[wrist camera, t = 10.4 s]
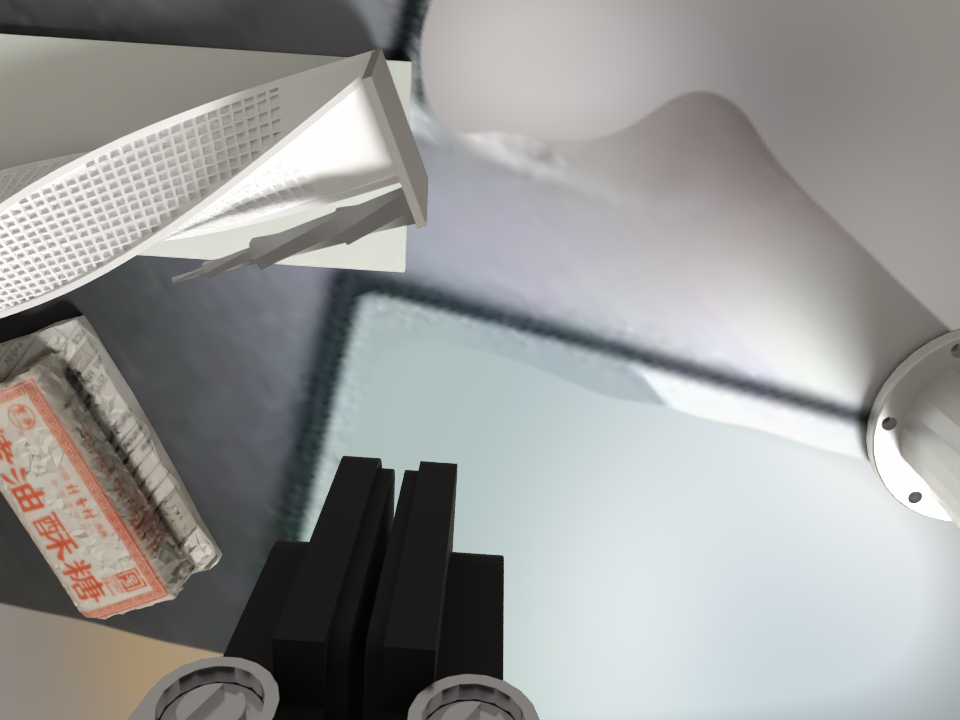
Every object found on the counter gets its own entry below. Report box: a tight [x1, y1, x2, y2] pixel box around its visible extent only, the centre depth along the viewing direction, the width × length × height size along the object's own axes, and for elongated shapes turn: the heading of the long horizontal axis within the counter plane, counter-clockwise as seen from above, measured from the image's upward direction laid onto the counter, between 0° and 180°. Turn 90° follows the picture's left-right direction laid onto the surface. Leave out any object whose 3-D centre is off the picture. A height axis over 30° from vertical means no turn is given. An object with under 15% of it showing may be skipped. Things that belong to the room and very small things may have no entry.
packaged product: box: [0, 315, 222, 619], centre depth 50 cm, size 18×5×10 cm
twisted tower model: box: [0, 48, 428, 318], centre depth 42 cm, size 8×8×28 cm
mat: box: [0, 34, 412, 272], centre depth 44 cm, size 23×11×1 cm, turn 86°
